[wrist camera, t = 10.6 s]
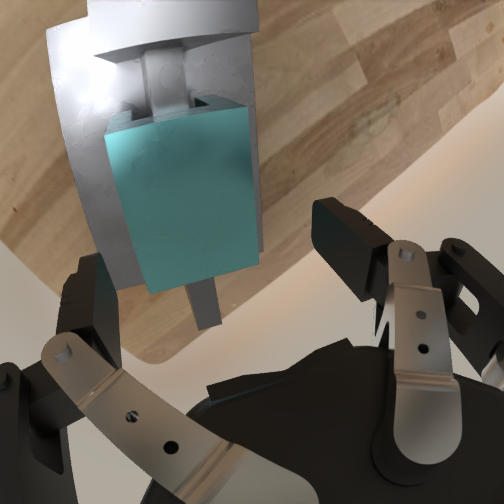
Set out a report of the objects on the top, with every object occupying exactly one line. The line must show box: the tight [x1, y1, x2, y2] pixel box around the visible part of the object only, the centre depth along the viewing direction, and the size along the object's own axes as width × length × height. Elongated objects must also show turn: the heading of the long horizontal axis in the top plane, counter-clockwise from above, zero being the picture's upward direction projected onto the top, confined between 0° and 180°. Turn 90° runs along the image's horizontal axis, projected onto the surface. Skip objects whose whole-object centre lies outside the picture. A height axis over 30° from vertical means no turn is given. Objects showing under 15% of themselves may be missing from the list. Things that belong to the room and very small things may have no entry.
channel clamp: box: [104, 94, 259, 294], centre depth 16 cm, size 8×6×6 cm
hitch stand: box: [46, 0, 263, 330], centre depth 17 cm, size 14×22×14 cm, turn 4°
